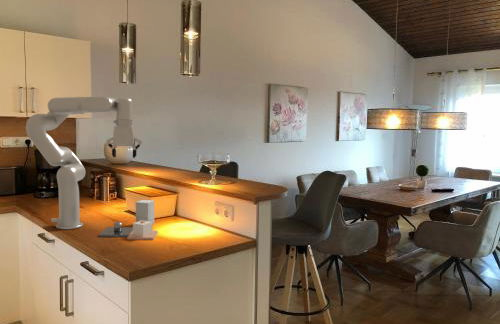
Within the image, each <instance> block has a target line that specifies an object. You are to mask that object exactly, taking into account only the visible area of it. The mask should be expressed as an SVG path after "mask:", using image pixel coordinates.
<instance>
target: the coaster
mask: <svg viewBox="0 0 500 324" xmlns="http://www.w3.org/2000/svg"><path fill="white" fill-rule="evenodd" d="M157 235H158V230H152V234H149V235H146V236H138V235H133V231H132V232H131V233H130V235H129V236H128V237H126V240H141V241H144V240H145V241H146V240H149V241H150V240H153V241H154V240H155V238H156V236H157Z"/></svg>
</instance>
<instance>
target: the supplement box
mask: <svg viewBox="0 0 500 324" xmlns="http://www.w3.org/2000/svg"><path fill="white" fill-rule="evenodd" d="M139 221H148V222H152V225H154V224H155V200H153V199H152V200H150V199H149V200H148V199H141V200H139V201H136V202H135V222H139Z"/></svg>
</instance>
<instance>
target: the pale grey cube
mask: <svg viewBox="0 0 500 324" xmlns="http://www.w3.org/2000/svg"><path fill="white" fill-rule="evenodd" d="M132 227H133V235H138V236H146V235H149V234H152V231H153V224H152V222H148V221H139V222H136V221H135V222H133V223H132Z"/></svg>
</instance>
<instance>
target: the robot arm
mask: <svg viewBox="0 0 500 324" xmlns="http://www.w3.org/2000/svg"><path fill="white" fill-rule="evenodd" d="M47 109H48V112H47V113H35V114H32V115H30V117H28V119H27V120H26V124H25V132H26V135H27V137H28V138H29V140H30V141H31V142H32V144H34V146H35V147H36V148H37V150H38V151H39V152H40V154H41V156H42V157H43V158H44V159H45V161H46V162H47V163H48V164H49V165H50V166H52V167H59V166H60V168H59V169H58V170H57V172H56V180H57V181H56V182H57V187H58V217H57V218H56V217H54V218H53V217H52V218H51V219H50V221H51V223H54V224H55V223H56V224H55V228H56V229H60V230H72V229H78V228H82V227H83V225H84V223H83V222H81V221H80V187H79V184H78V182H79V181H80V182H81V180H83V179H84V178H86V177H85V176H86V168H85V167H84V165H83V164H82V162H81V161H80V159H79V158H78V157H77V155H76V154H75V153H74V152H73V151H72V150H71V149H70V148H69V147H66V146H59V145H58V144H57V143H56V142H55V140H54V138H53V137H52V136H51V135H49V134H48V133H47V132H48V131H53V130H55V129H57V128H58V127H60V125H61V124H62V123H63V122H64V121H65V120H66V119H67V118H68V117H69V115H84V114H86V113H87V114H88V113H107V114H108V113H110V114H112V113H116V117H115V118H116V119H115V120H113V124H116V125H114V126H113V127H114V128H113V133H112V137H111V138H109V139H107V140H106V144H107V145H108V147H109V148H110V149H111V156H112V157H113V158H116V157H117V149H116V148H117V147H131V148H132V149H133V150H132V158H133V159H135V158H136V157H137V150H138V149H139V148H140V146H141V145H142V143H143V141H142V140H140V139H138V138H137V137H136V135H135V127H134V125H133V100H132V98H129V97H119V98H115V97H109V96H74V97H73V96H70V97H69V96H68V97H67V96H65V97H62V96H61V97H53V98H51V99H49V101H48V102H47ZM111 142H112V143H111ZM136 142H137V145H136Z"/></svg>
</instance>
